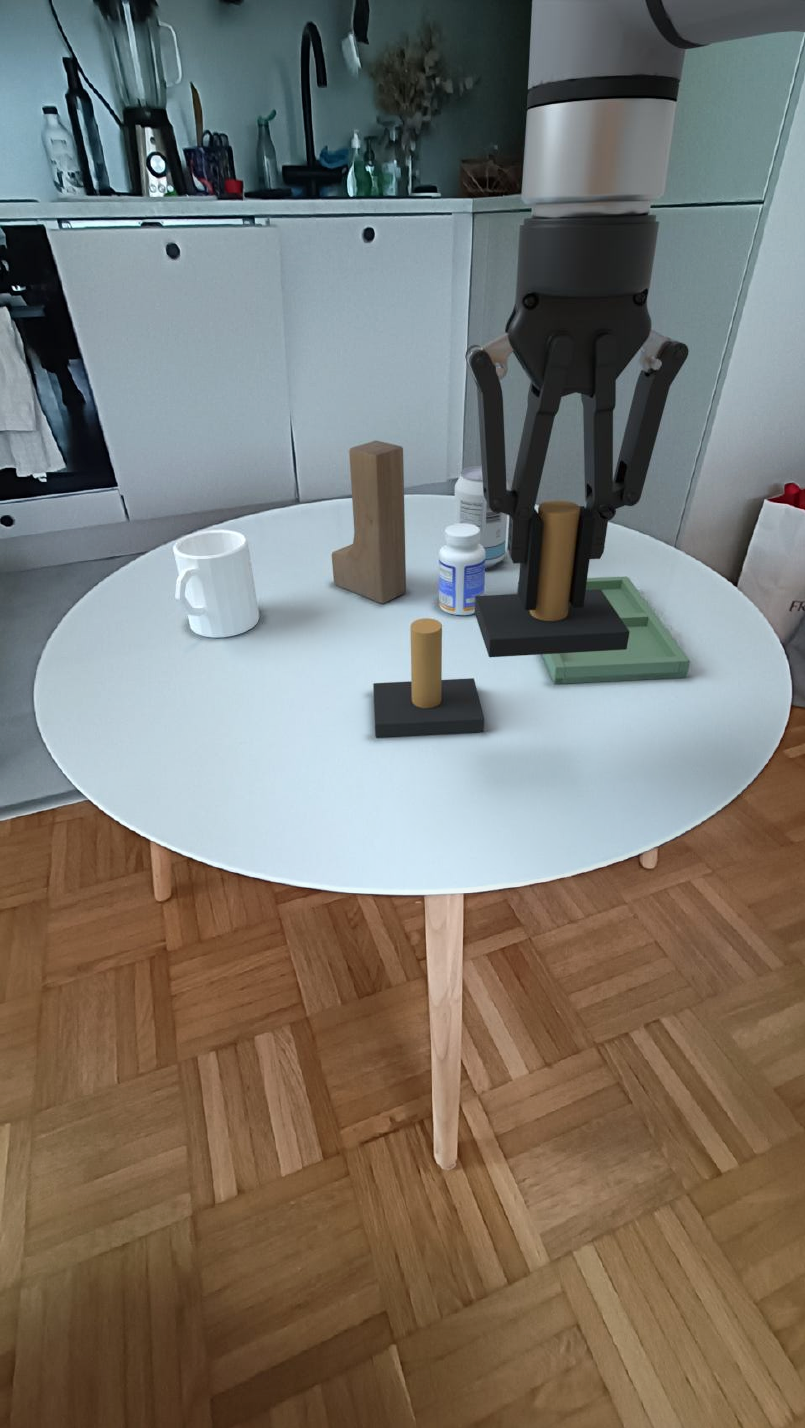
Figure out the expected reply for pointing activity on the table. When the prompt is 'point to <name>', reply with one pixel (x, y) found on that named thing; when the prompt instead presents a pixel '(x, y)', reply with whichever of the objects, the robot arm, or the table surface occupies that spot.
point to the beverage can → (480, 514)
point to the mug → (216, 583)
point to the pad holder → (646, 647)
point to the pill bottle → (461, 569)
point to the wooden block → (375, 525)
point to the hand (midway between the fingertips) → (550, 599)
